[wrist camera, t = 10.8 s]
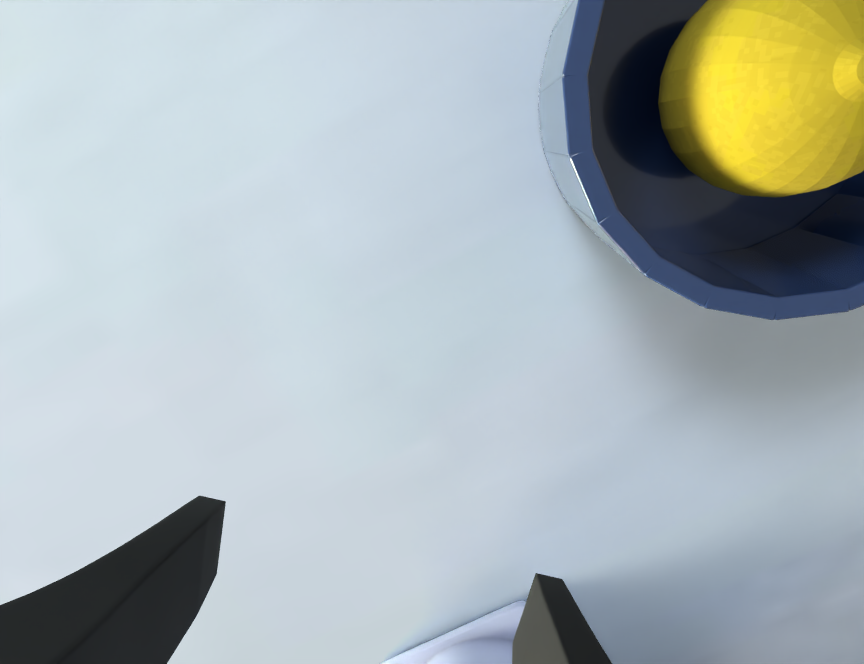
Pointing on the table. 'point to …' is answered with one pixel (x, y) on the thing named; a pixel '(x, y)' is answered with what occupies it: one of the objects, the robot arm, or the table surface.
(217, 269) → the table surface
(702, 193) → the blue mug
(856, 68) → the lemon
